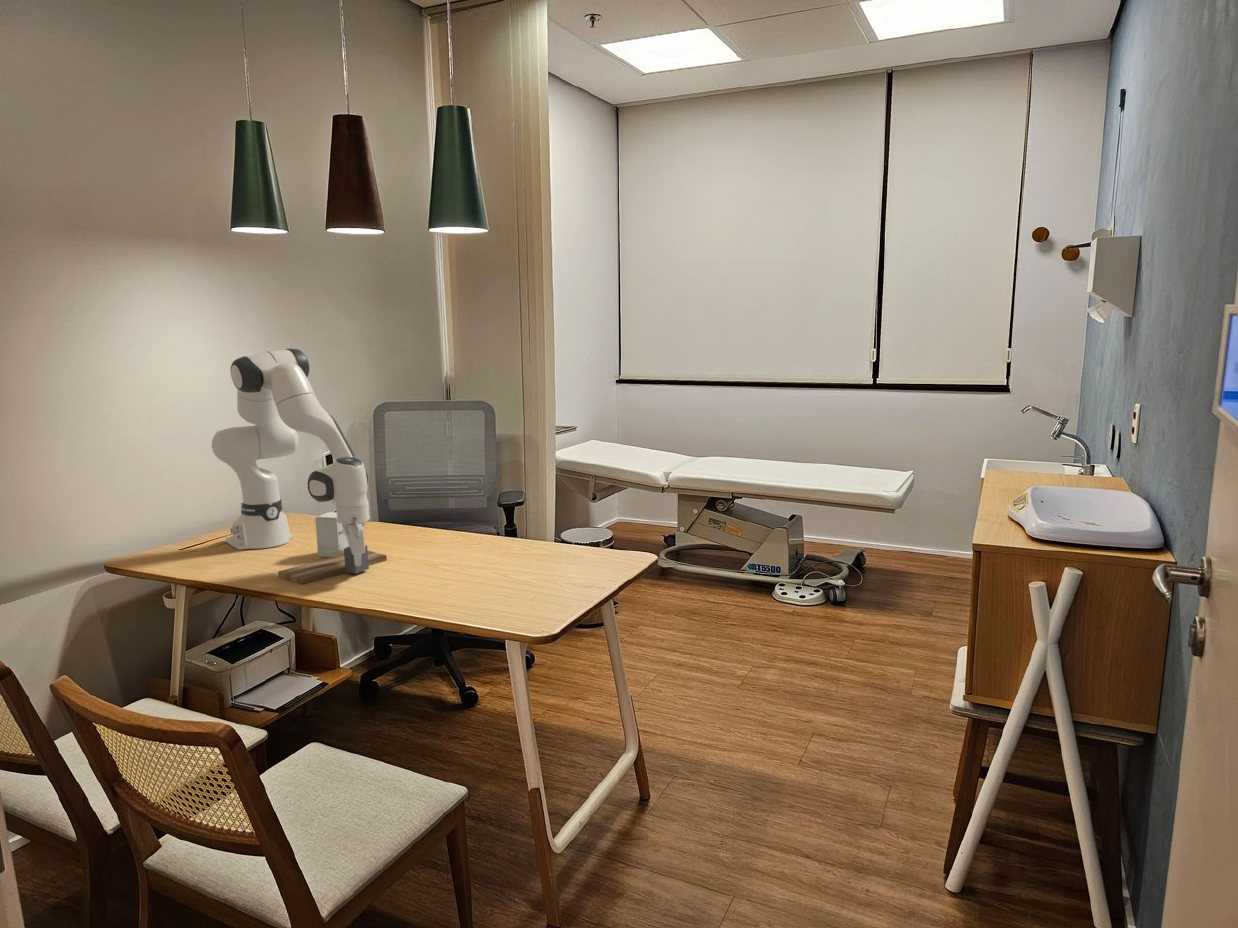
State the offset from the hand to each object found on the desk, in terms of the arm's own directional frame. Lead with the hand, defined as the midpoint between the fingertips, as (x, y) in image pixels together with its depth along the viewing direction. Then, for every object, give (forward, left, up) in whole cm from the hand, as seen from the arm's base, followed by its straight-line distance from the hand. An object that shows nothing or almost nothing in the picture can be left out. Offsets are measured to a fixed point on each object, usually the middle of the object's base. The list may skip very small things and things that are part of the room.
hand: (356, 561), depth 232 cm
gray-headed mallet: (-3, -1, -3) cm, 4 cm away
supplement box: (-23, +8, -4) cm, 24 cm away
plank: (-9, -1, -3) cm, 10 cm away
